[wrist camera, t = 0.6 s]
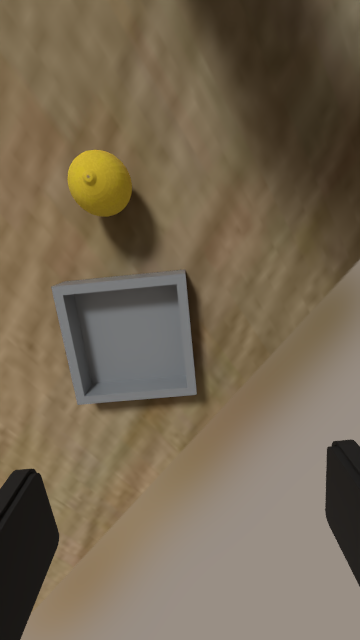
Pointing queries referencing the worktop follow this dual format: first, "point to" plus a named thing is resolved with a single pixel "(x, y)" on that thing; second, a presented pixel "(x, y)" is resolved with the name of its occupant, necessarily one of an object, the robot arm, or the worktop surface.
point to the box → (127, 336)
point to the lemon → (99, 183)
